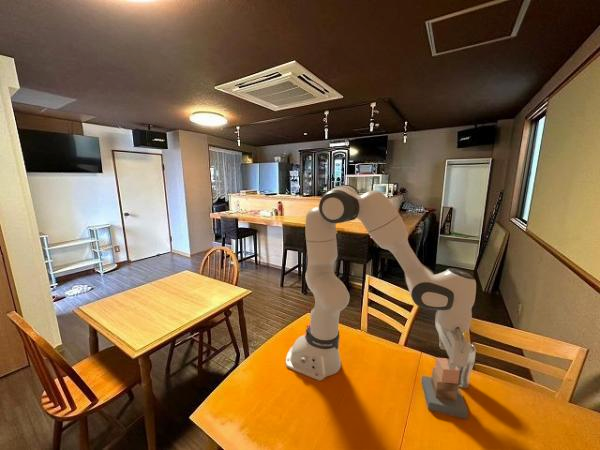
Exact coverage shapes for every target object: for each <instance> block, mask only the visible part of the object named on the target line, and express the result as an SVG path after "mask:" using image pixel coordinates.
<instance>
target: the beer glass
mask: <svg viewBox="0 0 600 450" xmlns="http://www.w3.org/2000/svg"><path fill="white" fill-rule="evenodd" d="M467 342H468V341H467ZM468 345H469V354H468V363H467V366H466V367H460V366H457V367H458V368H459V370H460V374H459V381H458V386H459V389H460V388H461V389H467V388H469V387H470V374H471V372H472V370H473V367H474V365H475V361H476V350H477V349H476V347H475V345H473V344H472V343H471V342H468Z"/></svg>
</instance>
